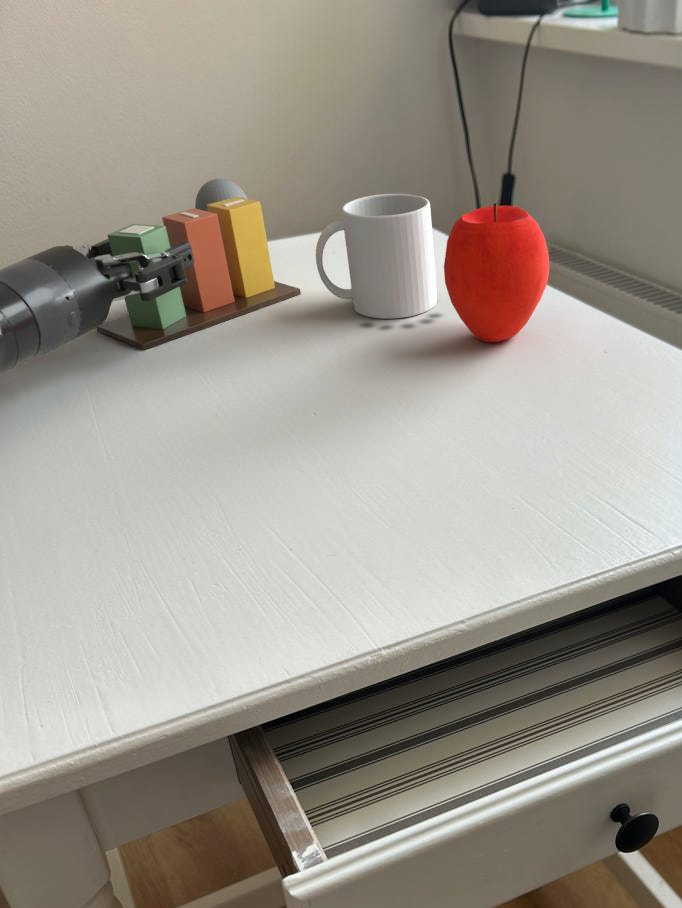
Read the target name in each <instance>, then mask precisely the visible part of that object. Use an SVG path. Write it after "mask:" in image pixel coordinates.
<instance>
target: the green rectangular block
mask: <svg viewBox="0 0 682 908" xmlns="http://www.w3.org/2000/svg"><path fill="white" fill-rule="evenodd" d="M107 239H109V243H110V247H111V250H112V254H113V256H117V255H122V254H127V253H132V252H137V251H139V252H142V253H143V254H144V255H151V254H156V253H160V252H163V251H165V250H167V249H169V248H171V247H170V243H169V239H168V235H167V230H166V226H164V225H157V224H155V225H153V224H142V223H131V224H129V225H127V226H125V227H122V228H120V229H117V230H115V231H114V232H110V233H109V234H107ZM155 263H157V262H155ZM155 263H150V264H149V266H150V265H152V264H155ZM129 264H130V266H131V269H132V273H133V277H135V275H134V273H135V272H137V271H139V268H138V264H137V262H136V261H134V262H129ZM123 300H124V302H125V306H126V310H127V313H128V314H127V315H129V318H130V321H131V325H132V326H138V327H147V328H155V329H165V328H167V327H168V326H170V325H172V324H173V323H175V322H177V321H179V320H180V319H182V318H184V317H186V312H185V308H184V303H183V299H182V295H181V291H180V287H177V288H175V289H173V290H171V291H169V292H167V293H165V294H163V295H161V296H159V297H157V298H155V299H153V300H151V301H141V298H140V294H139V293H137V294H133V295H128V296H126V297H125V298H124V299H123Z"/></svg>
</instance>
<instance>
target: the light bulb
mask: <svg viewBox="0 0 682 908" xmlns="http://www.w3.org/2000/svg"><path fill="white" fill-rule="evenodd" d="M234 197H241V198H246V199H248V197H247V195H246V193H245V192H244V191H243V190H242V189H241V187H240V186H239V185H238V184H236V183H235V182H233V181H232V180H229V179H226V178H214V179H210V180H209V181H206V182H204V183H203V185H202V186H201V187H200V188H199V190H198V193H197V194H196V197H195V204H194V205H195V207H194V208H195V209H199V210H203V211H207V212H208V209H207V205H208V204H212V203H216V202H219V201H223V200H227V199H230V198H234Z"/></svg>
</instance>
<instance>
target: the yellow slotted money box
mask: <svg viewBox="0 0 682 908" xmlns="http://www.w3.org/2000/svg"><path fill="white" fill-rule="evenodd" d="M207 209H208V212H211V213H215V214H217V216H218V222H219V227H220V232H221V237H222V242H223V247H224V252H225V257H226V262H227V267H228V272H229V277H230V282H231V287H232V292H233V294H235V295H238V296H241V297H245V298H248V297H250V296H253V295H256V294H259V293H262V292H265V291H268V290H271V289H273V288H275V285H274V281H275V280H274V274H273V273H274V272H273V268H272V262H271V256H270V250H269V244H268V238H267V233H266V227H265V221H264V215H263V211H262V205H261V201H259V200H254V199H249V198H247V199H246V198H241V197H234V198H230V199H227V200H223V201H219V202H216V203H212V204H208V205H207Z"/></svg>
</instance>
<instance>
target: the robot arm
mask: <svg viewBox="0 0 682 908" xmlns="http://www.w3.org/2000/svg"><path fill="white" fill-rule="evenodd" d="M134 261H136V262H137V264H138V268H139V271H137V272H135V273H134V275H135V277H133V273H132V269H131V266H130V264H129V262H134ZM155 262H157V263H155ZM150 263H155V264H152V265H150V266H149V264H150ZM194 263H195V261H194V257H193V252H192V248H191V245H190V243H185V242H181V243H179V244H177V245H175V246H173V247H171V248H169V249H167V250H165V251H163V252H160V253H156V254H151V255H144V254H143V253H142V252H139V251H137V252H132V253H127V254H122V255H117V256H113V254H112V250H111V247H110V243H109V239H108V238H107V239H104V240H102V241H100V242H98V243H95V244H93V245H90V244H89V245H88V244H83V245H81V246H79V247H78V248H74V247H73V246H72V245H68V244H67V245H55V246H53V247H50V248H47V249H45V250H43V251H40V252H38V253H36V254H33V255H31V256H28V257H25V258H24V259H22V260H19V261H17V262H15V263H11V264H10V265H7V266H5V267H3V268H1V269H0V375H2V374H5V373H6V372H9V371H10V370H13V369H14V368H15V367H17V366H20V365H21V364H23V363H25V362H27V361H29V360H31V359H33V358H35V357H36V358H37V357H39V356H42V355H46V354H49V353H50V352H52V351H55V350H56V349H58V348H60V347H62V346H64V345H66V344H67V343H69V342H72V341H74V340H75V339H77V338H79V337H81V336H83V335H85V334H86V333H88V332H90V331H92V330H95V329H96V327H98V326H99V325H101V324H102V323H105V322H106V319H107V317H108V315H109V312H110V310H111V307H112V303H113V302H117V301H122V300H125V299H124V298H125V297H126V296H128V295H133V294H137V293H139V294H140V298H141V301H151V300H153V299H155V298H157V297H159V296H161V295H163V294H165V293H167V292H169V291H171V290H173V289H175V288H177V287H180V286H182V285H184V284H186V283H187V279H186V275H185V269H187V268H189V267H191V266H193V264H194Z"/></svg>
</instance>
